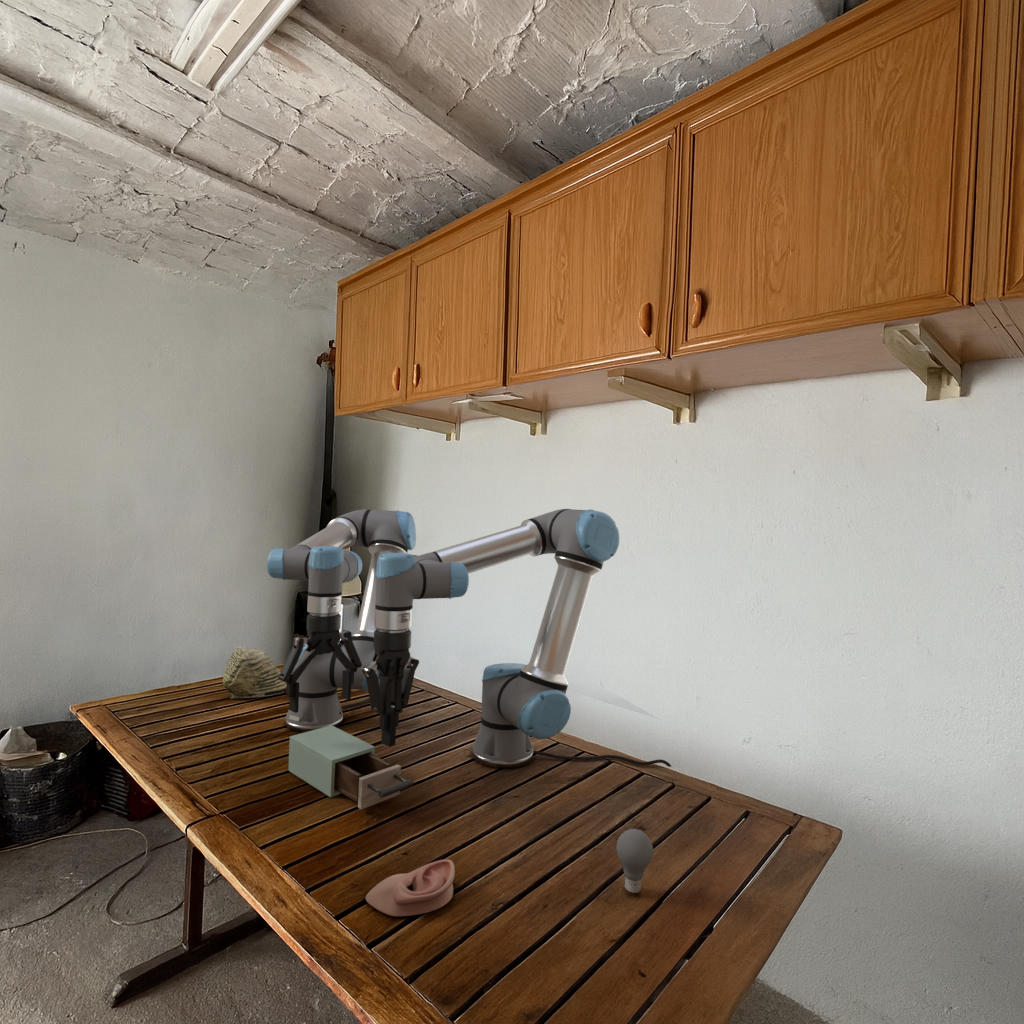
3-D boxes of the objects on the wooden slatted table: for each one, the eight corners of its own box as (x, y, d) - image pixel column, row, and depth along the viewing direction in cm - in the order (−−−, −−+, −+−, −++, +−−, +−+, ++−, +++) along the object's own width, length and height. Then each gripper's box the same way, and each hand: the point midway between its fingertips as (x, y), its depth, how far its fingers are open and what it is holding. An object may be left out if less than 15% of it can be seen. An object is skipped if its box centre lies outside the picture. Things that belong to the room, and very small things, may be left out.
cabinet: (373, 782, 142) (375, 746, 142) (330, 797, 134) (332, 760, 133) (330, 757, 154) (331, 725, 153) (288, 770, 145) (289, 736, 145)
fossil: (218, 695, 195) (220, 647, 195) (278, 685, 208) (279, 640, 207) (228, 703, 189) (230, 653, 188) (289, 692, 201) (290, 645, 201)
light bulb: (610, 879, 108) (613, 822, 108) (644, 879, 109) (647, 822, 109) (619, 902, 102) (622, 840, 102) (655, 901, 103) (658, 840, 103)
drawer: (416, 803, 131) (417, 774, 131) (377, 819, 124) (378, 788, 123) (355, 769, 146) (356, 743, 145) (316, 782, 138) (318, 754, 138)
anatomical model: (357, 884, 98) (387, 845, 109) (356, 910, 98) (386, 868, 109) (440, 899, 95) (461, 857, 106) (439, 925, 95) (460, 881, 106)
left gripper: (281, 622, 135) (277, 721, 135) (378, 610, 153) (375, 697, 154) (264, 616, 140) (261, 712, 140) (360, 605, 158) (357, 690, 159)
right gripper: (377, 636, 122) (372, 758, 122) (429, 628, 131) (424, 741, 132) (355, 629, 127) (350, 746, 127) (406, 622, 136) (402, 731, 137)
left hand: (320, 704), depth 147 cm, fingers open, 13 cm apart
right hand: (388, 743), depth 129 cm, fingers closed
